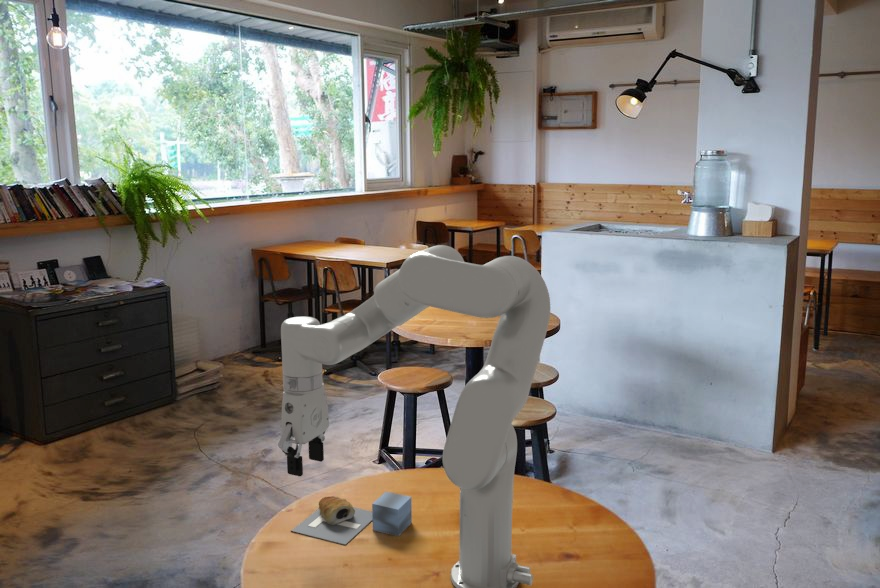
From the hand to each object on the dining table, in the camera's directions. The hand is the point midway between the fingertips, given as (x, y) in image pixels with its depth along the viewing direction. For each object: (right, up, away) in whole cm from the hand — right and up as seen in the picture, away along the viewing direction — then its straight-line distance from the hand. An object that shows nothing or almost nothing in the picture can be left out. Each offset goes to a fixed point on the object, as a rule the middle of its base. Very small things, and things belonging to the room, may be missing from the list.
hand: (306, 466), depth 151 cm
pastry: (+4, -13, +12) cm, 19 cm away
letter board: (+5, -14, +10) cm, 18 cm away
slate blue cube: (+17, -14, +8) cm, 24 cm away
